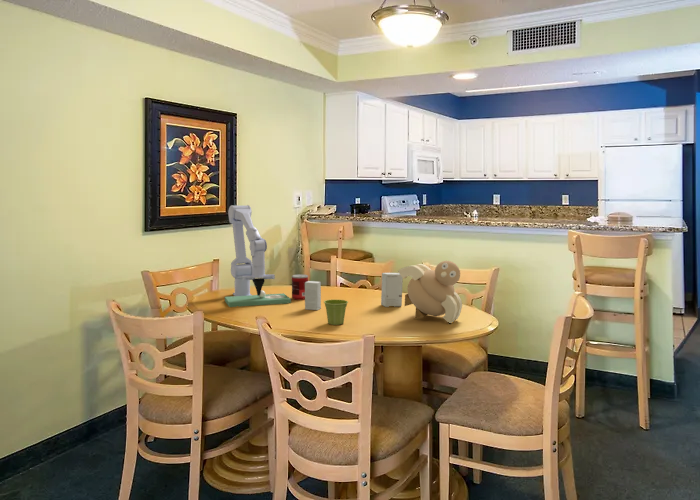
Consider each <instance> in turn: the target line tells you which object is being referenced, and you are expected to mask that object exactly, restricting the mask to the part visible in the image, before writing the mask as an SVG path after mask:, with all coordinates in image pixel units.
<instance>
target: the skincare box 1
mask: <svg viewBox="0 0 700 500" xmlns="http://www.w3.org/2000/svg"><path fill="white" fill-rule="evenodd" d="M321 283H322V282H321V281H315V280H308V281H307V282H305V299H304V310H309V311H310V310H311V311H319V310H320V309H322V303H321V302H322V298H321V297H322V294H321V293H322V289H321V288H322V287H321V285H322V284H321Z"/></svg>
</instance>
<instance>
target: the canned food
mask: <svg viewBox="0 0 700 500" xmlns="http://www.w3.org/2000/svg"><path fill="white" fill-rule="evenodd" d="M307 281H309V275H307V274H301V273H300V274H293V275H291V299H292V300H296V301H297V300H299V301H300V300H301V301H303V300H305V282H307Z"/></svg>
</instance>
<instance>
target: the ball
mask: <svg viewBox="0 0 700 500" xmlns="http://www.w3.org/2000/svg"><path fill="white" fill-rule="evenodd" d="M265 294H266V292H265V291H264V290H262V289H261V293H260V295H259V297H260V298H264V297H265Z"/></svg>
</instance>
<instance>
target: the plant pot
mask: <svg viewBox="0 0 700 500" xmlns="http://www.w3.org/2000/svg"><path fill="white" fill-rule="evenodd" d="M348 303H349V301H347V300H344V299H327V300H324V301H323V304H324V306H325V311H326V317H327V318H326V319H327V324H329V325H331V326H332V325H333V326H339V325H341V324H342V325H344V323H345V316H346V315H345V314H346V308H347V305H348Z"/></svg>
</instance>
